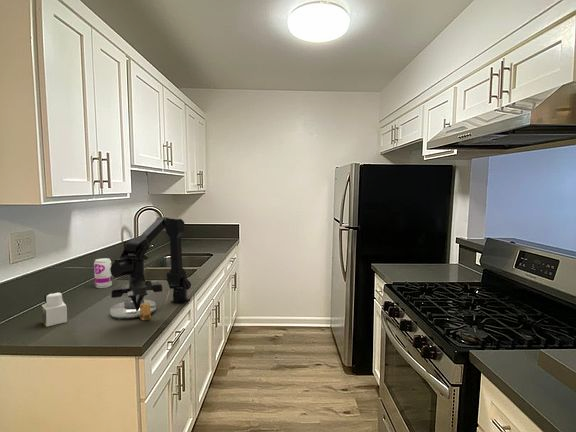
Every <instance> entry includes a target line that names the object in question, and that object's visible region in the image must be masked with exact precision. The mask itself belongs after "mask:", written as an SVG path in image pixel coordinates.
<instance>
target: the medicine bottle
mask: <svg viewBox="0 0 576 432" xmlns="http://www.w3.org/2000/svg"><path fill="white" fill-rule="evenodd" d="M63 295H64V294H63V292H61V291H51V292H47V293H46V294H45V295H44V297H43V298H44V304H41V315H42V323H43V325H44V326H45V327H47V328H48V327H51V326H56V325H59V324H60V325H61V324H64V323H67V322H68V309H67V304H66V303H65V302H64V299H63V297H64V296H63Z"/></svg>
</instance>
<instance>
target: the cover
mask: <svg viewBox="0 0 576 432" xmlns="http://www.w3.org/2000/svg"><path fill="white" fill-rule="evenodd" d="M136 300H137V297H136ZM144 300H145V297H143V299H142V301H141V304H143V303H144ZM123 302H124V308H125V309H129V310H131V309H135V306H134V304H133V301H132V299H131V298H128V297H127V298H125V299H124V300H123ZM139 308H140V307H139Z"/></svg>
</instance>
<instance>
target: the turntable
mask: <svg viewBox="0 0 576 432" xmlns="http://www.w3.org/2000/svg"><path fill="white" fill-rule="evenodd" d="M156 305H157V304H156V301H154V300H151V299H144V303H143V304H140V308H139V310H138V311H136V309H131V310H129V309H125V308H124V301H123V302H119V303H116V304H113V306H111V307H110V311H109V312H110V314H109V315H110V317H112V318H115V319H134V318H135V319H136V318H139V319H140V320H142V321H146V320H150V319H151V314H152V313H153V312H155V311H156V310H157V308H156V307H157V306H156Z"/></svg>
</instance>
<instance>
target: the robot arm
mask: <svg viewBox="0 0 576 432" xmlns="http://www.w3.org/2000/svg"><path fill="white" fill-rule="evenodd" d="M185 226H186V223H185V221H184V220H183V219H182V218H169V217H165V216H158V217H156V218H155V221H154V222H153V223H152V224H150V225H149V226H148V227H147V229H146V230H144V231H143V233H141V234H140V235H139V236H136V237H133V238H132V239H130V240H129V241H128V242H126V243H125V247H124V248H123V250H122V253H121V254H120V256H119V258H115V259H114V262H113V263H111V268H110V272H111V274H112V277H113V278H115V279H117V278H122V277H125V276H128V288H123V287H122V286H115V287H114V286H113V287H111V288H110V289H109V290H110V291H109V295H110V298H111V299H115V298H116V299H117V298H122V296H123V295H124V294H126V297H127V298H131V299H132V301H133V304H134V306H135V309H136V311H138V310H139V307H140V304H141V301H142V299H143V298H145V296H148V293H147V292H148V291H153V292H154V293H159V292H163V285H162V284H161V283H160V282H159V281H156V282H152V280H145V279H146V278H145V261H147V260H149V258H148V256H147V255H146V253H147V252H148V250H149V249H150V246H151V245H150V244H151V243H152V242H153V241H154V240H155V238H156V237H157V236H159V235H160V233H161V232H162V231H163V230H164V229H165V233H166V234H167V236H168V238H169V248H170V249H169V250H170V270H169V272H167V273H166V282H167V285H168V287H169V289H171V290H172V291H173V293H172V300H170V302H171V303H177V304H184V303H186V302H188V301H190V300H191V298H188V290H190V289H191V286H192V282H191V281H190V280H189V279H188V277H187V273H186V270H185V269H184V268H183V254H182V236H183V234H184V233H185ZM136 295H137V300H136Z"/></svg>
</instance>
